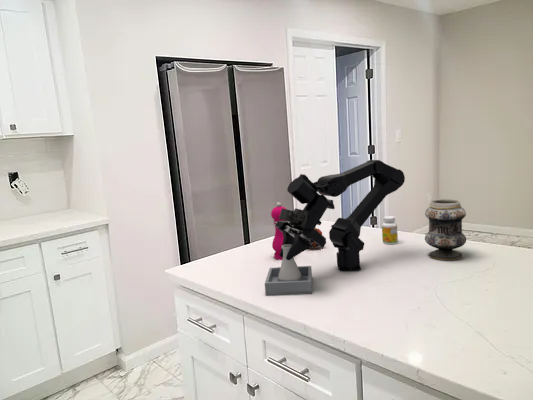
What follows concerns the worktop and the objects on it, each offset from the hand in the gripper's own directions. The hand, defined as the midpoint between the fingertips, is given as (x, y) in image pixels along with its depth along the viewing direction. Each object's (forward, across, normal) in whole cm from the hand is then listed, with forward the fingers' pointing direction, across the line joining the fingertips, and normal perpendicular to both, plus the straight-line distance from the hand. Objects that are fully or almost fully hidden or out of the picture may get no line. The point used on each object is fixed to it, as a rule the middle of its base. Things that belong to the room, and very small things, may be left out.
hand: (283, 258), depth 112 cm
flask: (+4, 0, +6) cm, 7 cm away
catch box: (+5, 0, +7) cm, 9 cm away
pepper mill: (-3, -24, +16) cm, 29 cm away
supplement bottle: (-30, -10, +43) cm, 54 cm away
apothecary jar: (-30, +13, +44) cm, 55 cm away
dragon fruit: (-14, -27, +26) cm, 40 cm away
